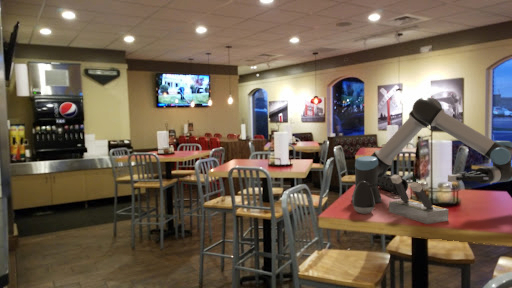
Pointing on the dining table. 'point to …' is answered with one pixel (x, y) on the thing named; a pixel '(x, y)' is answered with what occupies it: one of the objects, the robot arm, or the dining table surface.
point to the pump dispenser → (364, 198)
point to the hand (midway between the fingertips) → (449, 178)
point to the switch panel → (418, 211)
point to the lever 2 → (421, 194)
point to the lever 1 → (400, 187)
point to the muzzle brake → (390, 183)
